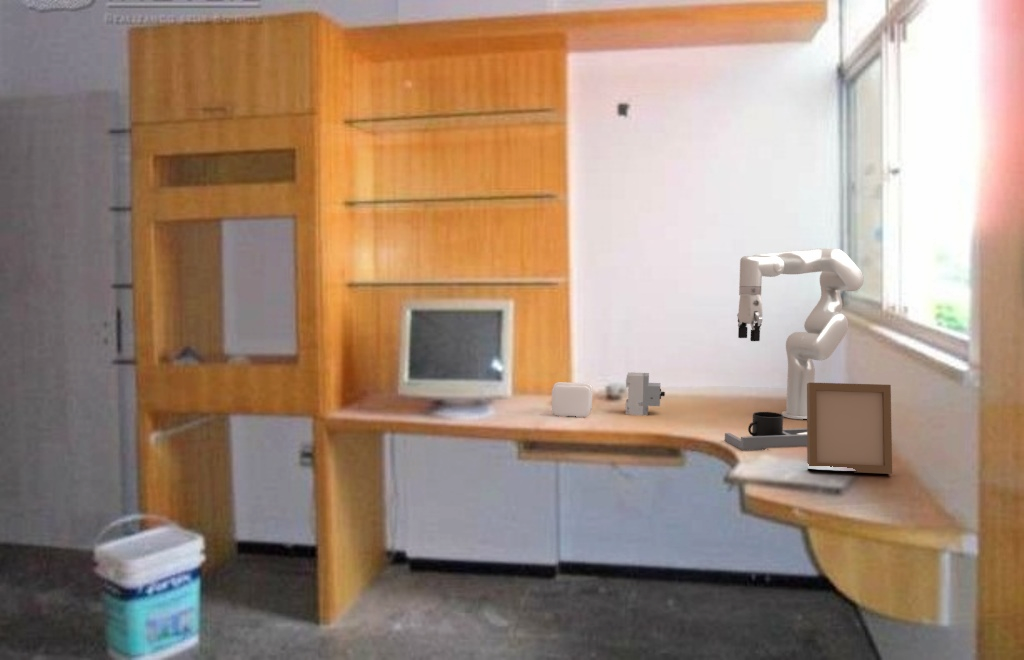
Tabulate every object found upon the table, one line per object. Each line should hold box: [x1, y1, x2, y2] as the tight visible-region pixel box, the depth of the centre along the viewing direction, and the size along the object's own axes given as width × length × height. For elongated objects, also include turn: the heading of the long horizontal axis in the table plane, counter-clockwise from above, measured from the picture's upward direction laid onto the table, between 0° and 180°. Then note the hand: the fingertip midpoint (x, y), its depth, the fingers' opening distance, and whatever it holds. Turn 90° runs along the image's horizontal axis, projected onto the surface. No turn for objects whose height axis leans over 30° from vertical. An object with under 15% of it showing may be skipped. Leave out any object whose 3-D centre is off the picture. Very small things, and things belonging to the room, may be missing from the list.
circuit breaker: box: [625, 372, 666, 416], centre depth 321 cm, size 8×14×15 cm, turn 78°
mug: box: [747, 411, 784, 436], centre depth 276 cm, size 9×12×9 cm
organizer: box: [724, 427, 807, 451], centre depth 274 cm, size 31×14×4 cm, turn 100°
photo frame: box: [806, 382, 893, 475], centre depth 243 cm, size 15×22×25 cm
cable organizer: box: [551, 381, 593, 418], centre depth 320 cm, size 15×11×12 cm
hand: (748, 339), depth 302 cm, fingers open, 9 cm apart
